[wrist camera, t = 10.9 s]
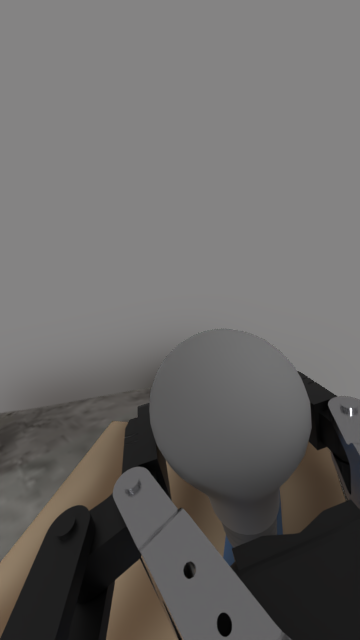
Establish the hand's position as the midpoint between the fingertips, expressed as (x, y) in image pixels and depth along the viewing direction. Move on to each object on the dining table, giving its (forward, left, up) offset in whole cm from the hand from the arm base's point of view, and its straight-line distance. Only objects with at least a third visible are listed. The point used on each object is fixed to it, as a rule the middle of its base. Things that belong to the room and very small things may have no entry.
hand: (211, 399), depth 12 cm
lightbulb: (+1, -2, -7) cm, 7 cm away
